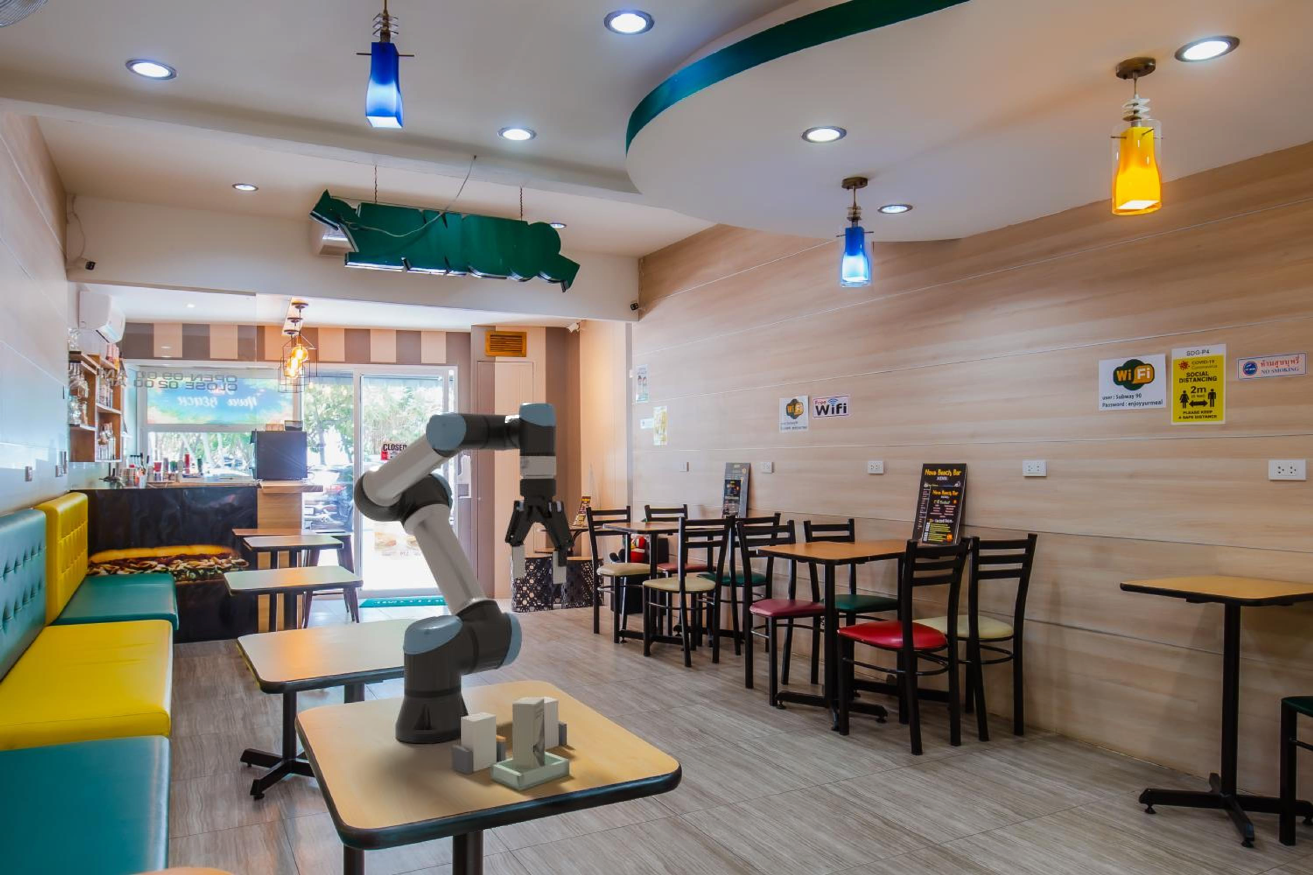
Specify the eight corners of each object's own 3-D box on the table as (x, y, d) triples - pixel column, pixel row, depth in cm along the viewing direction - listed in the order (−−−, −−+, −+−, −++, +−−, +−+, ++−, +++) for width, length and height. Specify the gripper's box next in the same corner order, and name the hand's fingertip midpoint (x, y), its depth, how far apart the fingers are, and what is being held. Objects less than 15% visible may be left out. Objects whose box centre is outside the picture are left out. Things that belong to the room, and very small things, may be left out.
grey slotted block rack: (451, 767, 161) (451, 742, 161) (551, 738, 178) (550, 715, 178) (467, 774, 158) (467, 748, 158) (566, 743, 174) (566, 720, 174)
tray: (490, 778, 155) (490, 764, 155) (539, 762, 163) (539, 749, 163) (519, 790, 149) (519, 775, 149) (569, 773, 157) (569, 759, 157)
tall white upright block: (461, 766, 162) (461, 717, 162) (484, 759, 166) (483, 711, 166) (473, 771, 159) (473, 721, 159) (496, 764, 163) (496, 715, 163)
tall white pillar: (525, 747, 173) (525, 701, 173) (546, 741, 176) (545, 696, 176) (538, 751, 170) (538, 704, 170) (558, 745, 173) (558, 699, 174)
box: (535, 778, 153) (534, 704, 154) (511, 776, 154) (511, 703, 155) (546, 768, 158) (545, 696, 159) (523, 766, 159) (522, 695, 160)
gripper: (488, 477, 188) (488, 577, 187) (562, 477, 170) (563, 587, 170) (516, 477, 193) (517, 573, 192) (591, 477, 176) (592, 583, 175)
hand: (538, 580), depth 181 cm, fingers open, 13 cm apart
